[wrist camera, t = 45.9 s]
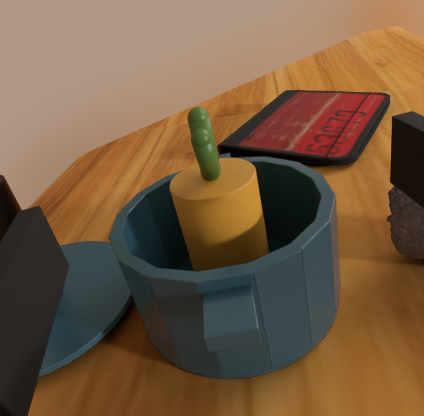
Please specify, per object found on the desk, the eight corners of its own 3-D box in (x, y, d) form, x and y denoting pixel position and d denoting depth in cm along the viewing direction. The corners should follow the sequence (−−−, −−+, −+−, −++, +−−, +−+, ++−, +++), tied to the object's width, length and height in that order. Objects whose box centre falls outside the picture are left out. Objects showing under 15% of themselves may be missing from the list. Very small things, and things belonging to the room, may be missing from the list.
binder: (215, 143, 47) (283, 88, 61) (218, 161, 48) (284, 103, 62) (352, 155, 39) (394, 88, 53) (352, 176, 40) (393, 105, 54)
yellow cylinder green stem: (201, 323, 26) (143, 133, 19) (201, 271, 30) (154, 104, 23) (280, 310, 25) (249, 111, 18) (268, 260, 30) (239, 86, 23)
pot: (124, 443, 20) (68, 347, 16) (158, 235, 37) (134, 163, 33) (392, 405, 19) (397, 293, 15) (303, 208, 35) (296, 131, 32)
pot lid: (-95, 409, 25) (-227, 279, 20) (3, 265, 38) (-60, 162, 32) (123, 374, 24) (48, 226, 18) (150, 238, 36) (110, 125, 31)
